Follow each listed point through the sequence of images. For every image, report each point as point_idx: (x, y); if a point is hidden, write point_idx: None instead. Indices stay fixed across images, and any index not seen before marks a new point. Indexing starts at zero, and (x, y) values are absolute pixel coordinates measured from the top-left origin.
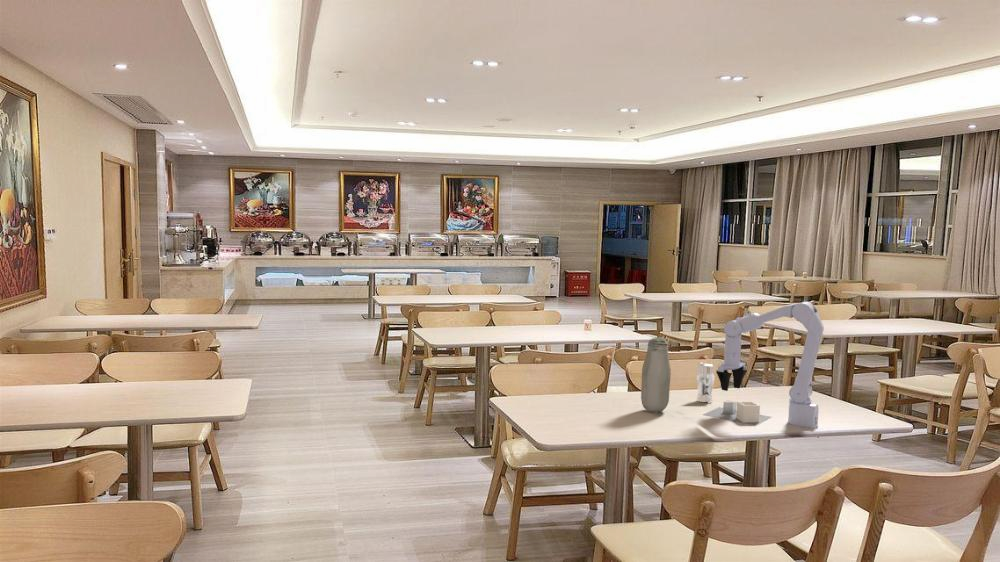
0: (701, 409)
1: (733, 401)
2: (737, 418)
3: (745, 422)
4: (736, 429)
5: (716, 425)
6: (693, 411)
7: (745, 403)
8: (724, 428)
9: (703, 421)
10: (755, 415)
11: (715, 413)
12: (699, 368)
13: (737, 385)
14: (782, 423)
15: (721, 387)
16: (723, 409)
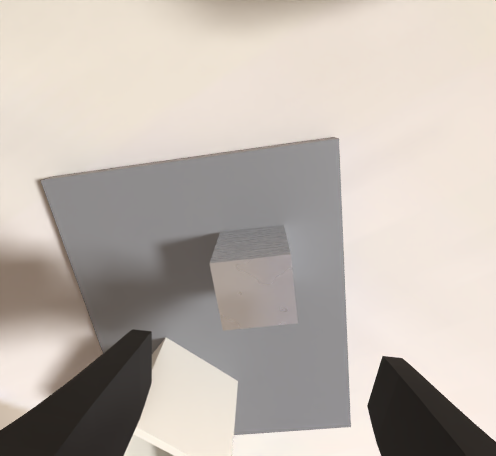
0: (255, 32)
1: (285, 305)
2: (156, 349)
3: None
4: (46, 383)
5: (10, 302)
6: (147, 28)
7: (180, 445)
8: (5, 347)
9: (3, 221)
10: (164, 454)
11: (149, 217)
12: None
13: (385, 421)
14: (322, 453)
15: (113, 346)
16: (218, 240)
